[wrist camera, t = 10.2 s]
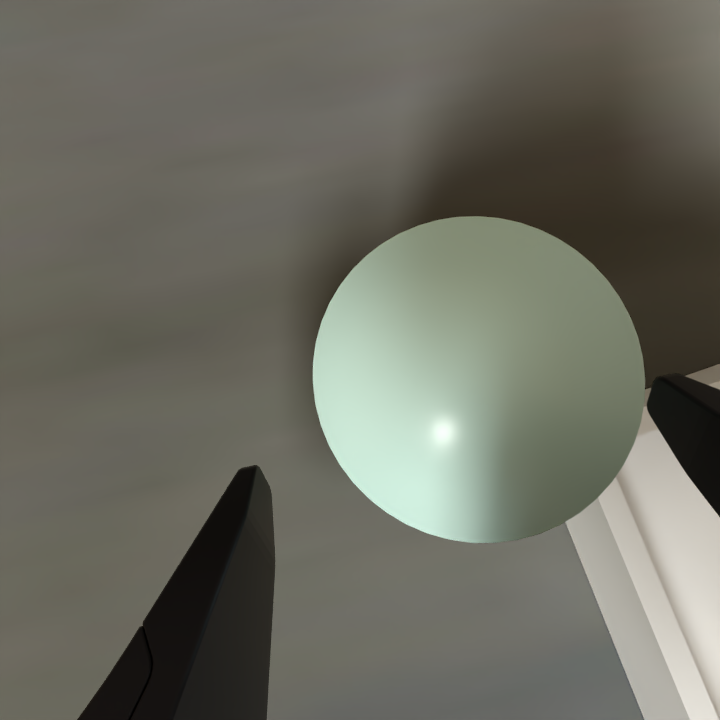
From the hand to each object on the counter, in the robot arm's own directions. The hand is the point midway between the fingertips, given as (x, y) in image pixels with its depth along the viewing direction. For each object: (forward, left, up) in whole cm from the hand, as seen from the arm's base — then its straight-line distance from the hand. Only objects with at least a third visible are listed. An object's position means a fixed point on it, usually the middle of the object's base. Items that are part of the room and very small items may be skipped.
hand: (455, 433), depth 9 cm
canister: (+1, 0, -9) cm, 9 cm away
